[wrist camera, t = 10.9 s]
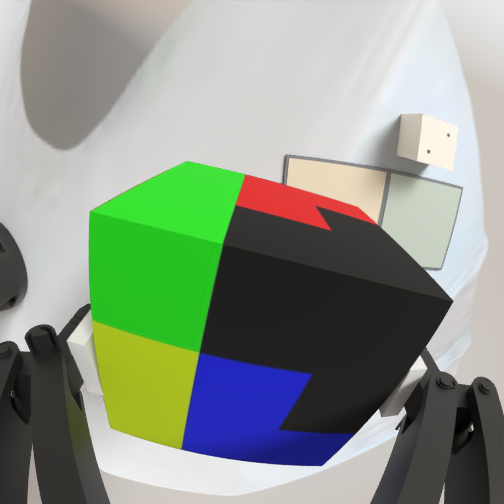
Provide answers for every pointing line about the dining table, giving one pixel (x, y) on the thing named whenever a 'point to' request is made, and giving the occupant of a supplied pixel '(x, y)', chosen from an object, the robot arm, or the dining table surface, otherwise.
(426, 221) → the board
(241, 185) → the puzzle toy
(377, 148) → the dining table surface
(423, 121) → the die
